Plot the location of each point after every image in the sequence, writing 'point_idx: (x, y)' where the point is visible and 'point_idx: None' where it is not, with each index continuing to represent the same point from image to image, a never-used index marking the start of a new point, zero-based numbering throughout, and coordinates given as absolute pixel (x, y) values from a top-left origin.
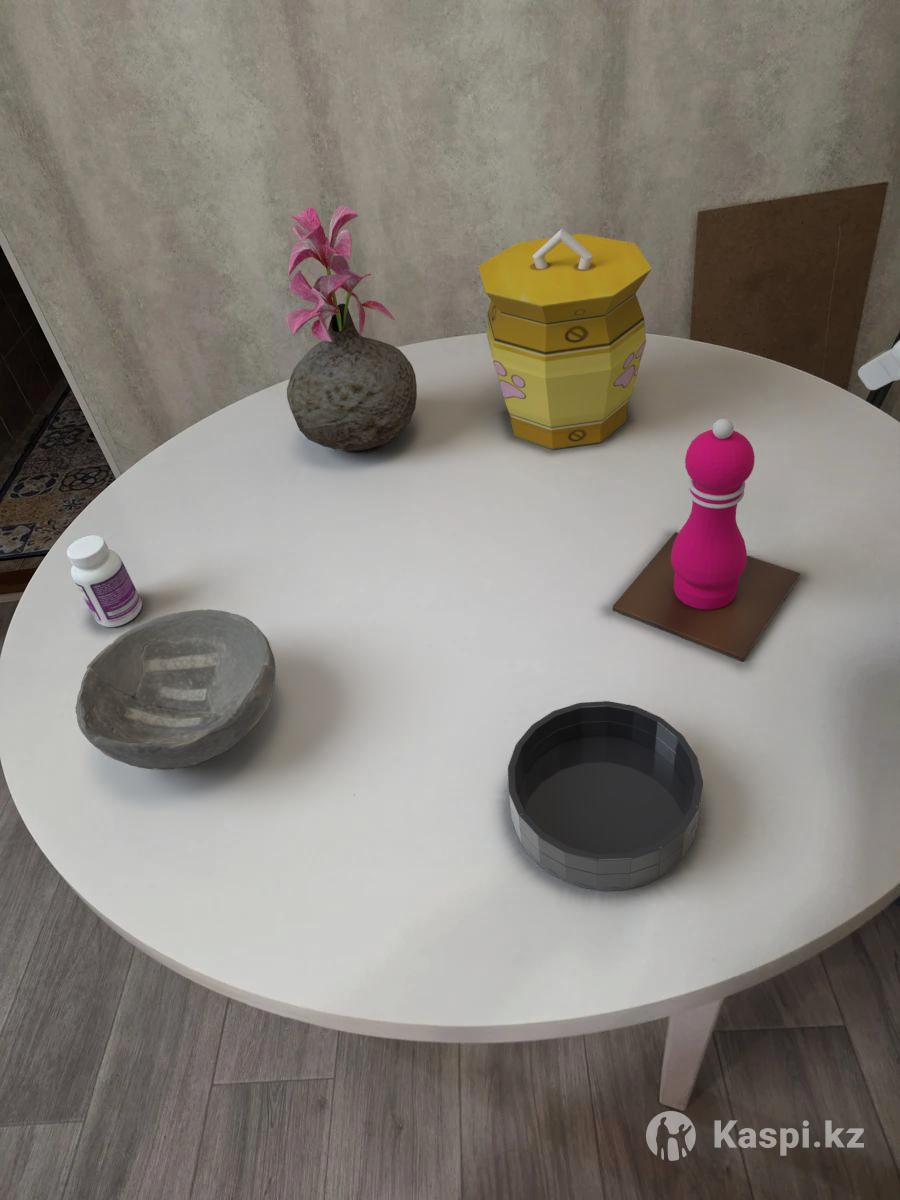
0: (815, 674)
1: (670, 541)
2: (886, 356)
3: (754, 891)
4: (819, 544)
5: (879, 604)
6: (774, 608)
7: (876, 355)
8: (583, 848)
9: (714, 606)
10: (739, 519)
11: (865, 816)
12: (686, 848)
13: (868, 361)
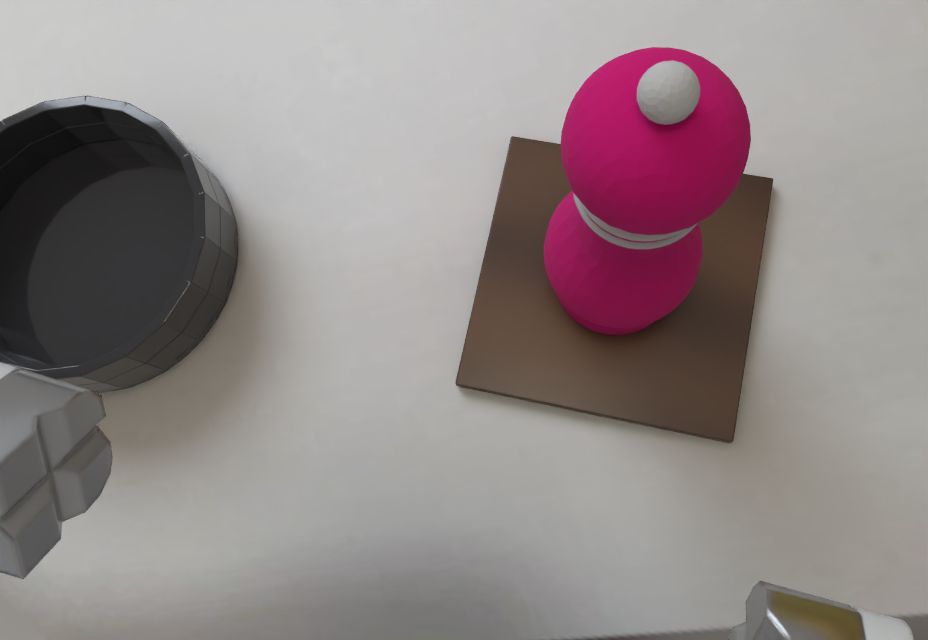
0: (467, 512)
1: None
2: None
3: None
4: (858, 465)
5: (703, 607)
6: (606, 411)
7: (15, 424)
8: (25, 255)
9: (562, 304)
10: (880, 290)
11: (188, 627)
12: None
13: (4, 392)
